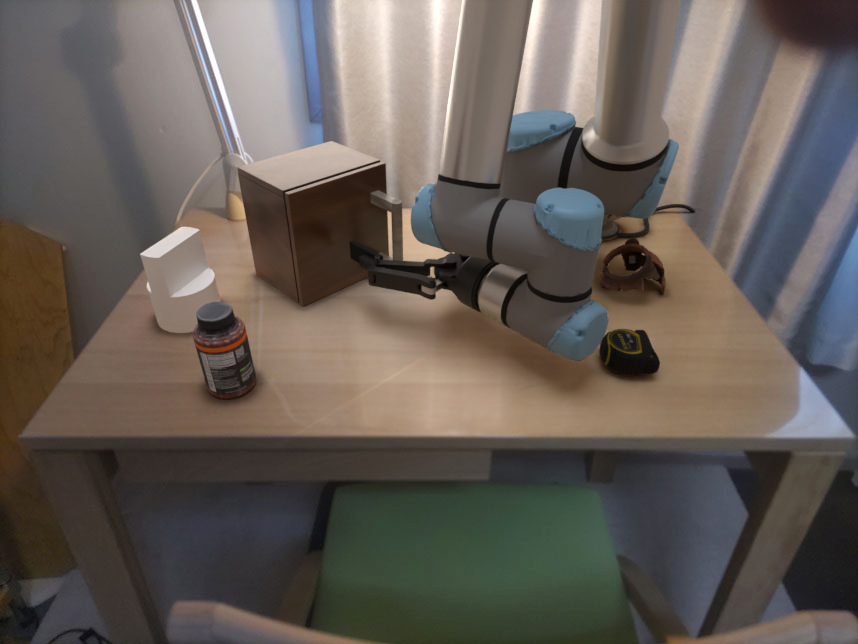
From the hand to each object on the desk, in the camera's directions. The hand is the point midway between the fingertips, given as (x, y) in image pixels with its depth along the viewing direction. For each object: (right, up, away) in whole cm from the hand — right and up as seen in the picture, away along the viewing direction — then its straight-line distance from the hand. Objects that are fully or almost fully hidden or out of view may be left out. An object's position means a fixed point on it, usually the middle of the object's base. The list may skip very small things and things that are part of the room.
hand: (386, 234), depth 92 cm
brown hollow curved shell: (+38, -8, +4) cm, 39 cm away
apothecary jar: (+37, +4, +20) cm, 42 cm away
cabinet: (-11, -5, +7) cm, 14 cm away
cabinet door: (-4, -9, +1) cm, 10 cm away
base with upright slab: (-28, -12, -4) cm, 31 cm away
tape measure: (+33, -19, -12) cm, 40 cm away
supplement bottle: (-18, -21, -16) cm, 32 cm away
